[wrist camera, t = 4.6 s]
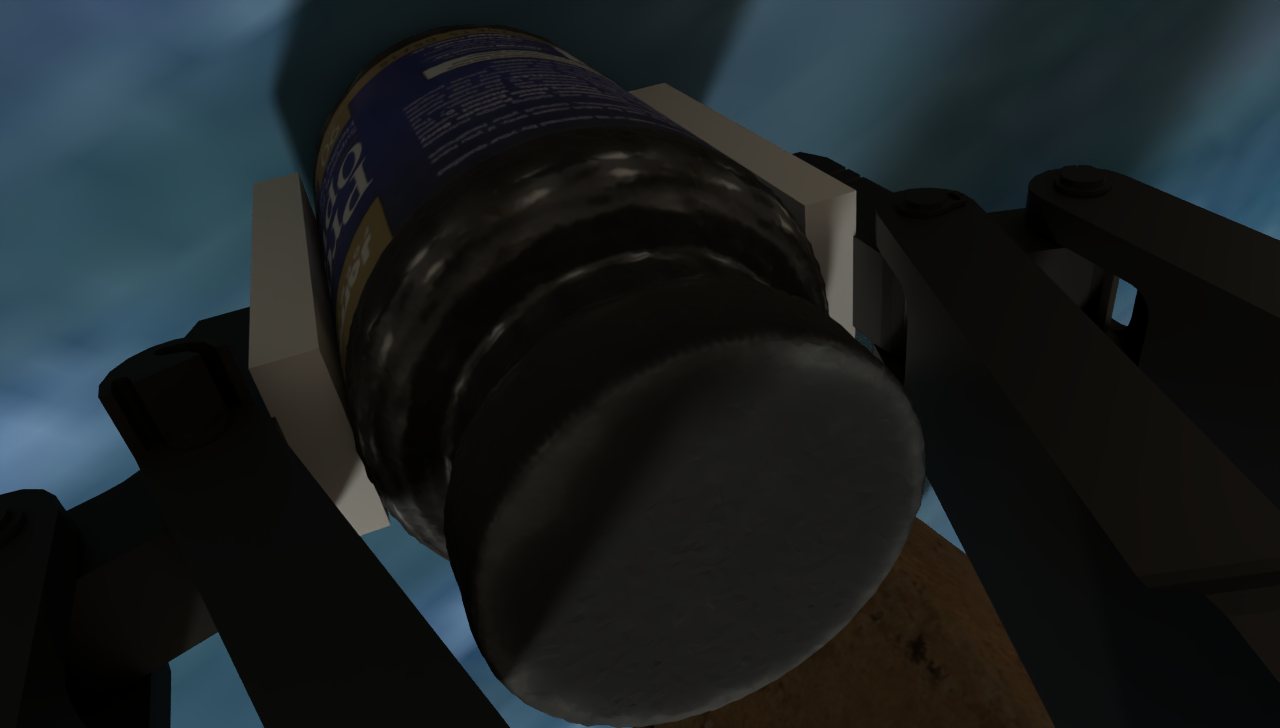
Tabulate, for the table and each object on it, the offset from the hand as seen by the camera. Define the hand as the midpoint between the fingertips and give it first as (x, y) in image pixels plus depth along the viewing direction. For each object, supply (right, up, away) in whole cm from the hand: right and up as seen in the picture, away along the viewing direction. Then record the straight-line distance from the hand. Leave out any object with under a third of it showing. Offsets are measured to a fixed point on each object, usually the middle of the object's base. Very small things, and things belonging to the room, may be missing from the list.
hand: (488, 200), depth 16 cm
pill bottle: (0, +1, +1) cm, 1 cm away
